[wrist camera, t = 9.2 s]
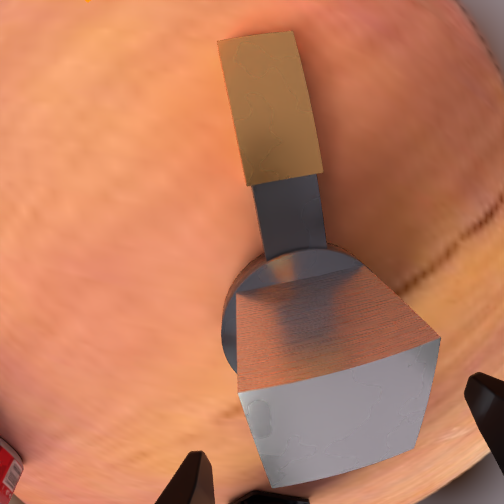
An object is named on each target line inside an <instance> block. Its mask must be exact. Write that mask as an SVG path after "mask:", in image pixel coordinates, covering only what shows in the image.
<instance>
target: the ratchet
mask: <svg viewBox="0 0 504 504" xmlns="http://www.w3.org/2000/svg"><path fill="white" fill-rule="evenodd" d="M217 45H218V51H219V56H220V61H221V66H222V71H223V75H224V80H225V85H226V90H227V95H228V99H229V104H230V109H231V114H232V119H233V124H234V128H235V133H236V138H237V143H238V148H239V153H240V158H241V163H242V168H243V172H244V177H245V182H246V185H247V186H251V188H252V193H253V198H254V203H255V209H256V214H257V219H258V224H259V229H260V234H261V239H262V244H263V249H264V254H262V255H260V256H259V257H257V258H256V259H255V260H253V261H252V262H251V263H249V264H248V265H247V266H246V267H245V268H244V269H243V270H242V271H241V273H240V274H239V275H238V276H237V278H236V279H235V280H234V282H233V284H232V285H231V287H230V289H229V291H228V294H227V296H226V299H225V303H224V307H223V315H222V329H221V337H222V346H223V350H224V353H225V356H226V358H227V361H228V362H229V364H230V366H231V367H232V369H233V370H234V371H235V372H236V373H237V327H236V292H241V291H246V290H251V289H256V288H261V287H266V286H271V285H276V284H281V283H285V282H290V281H295V280H299V279H304V278H309V277H313V276H318V275H322V274H327V273H331V272H336V271H340V270H344V269H349V268H353V267H357V266H362V265H364V264H363V263H362V262H361V261H359V260H358V259H357V258H356V257H355V256H354V255H352V254H351V253H349V252H348V251H346V250H345V249H342V248H340V247H338V246H335V245H332V244H329V243H326V235H325V228H324V221H323V213H322V207H321V200H320V193H319V187H318V181H317V175H316V174H318V173H324V171H323V165H322V160H321V154H320V148H319V143H318V137H317V132H316V127H315V122H314V117H313V112H312V108H311V103H310V98H309V94H308V89H307V85H306V81H305V76H304V72H303V68H302V64H301V60H300V56H299V52H298V48H297V44H296V41H295V37H294V33H293V31H286V32H275V33H266V34H258V35H250V36H243V37H237V38H231V39H225V40H220V41H217ZM364 266H365V265H364ZM369 270H370V269H369ZM370 271H371V270H370ZM371 272H372V271H371ZM372 273H373V272H372Z"/></svg>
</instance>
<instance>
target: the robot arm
mask: <svg viewBox="0 0 504 504" xmlns="http://www.w3.org/2000/svg"><path fill="white" fill-rule="evenodd" d="M464 397H465V400H466V402H467V404H468V406H469V408H470V410H471V413H472V415H473V417H474V419H475V422H476V424H477V426H478V428H479V430H480V432H481V434H482V436H483V438H484V439H485V441H486V443H487V445H488V447H489V448H490V450H491V452H492V454H493V455H494V457H495V459H496V461H497V463H498V465H499V467H500V469H501V471H502V473H503V475H504V381H502V380H499V379H497V378H494V377H492V376H489V375H486V374H484V373H481V372H477V373H475V374H473V375H471V376H470V377H469V379H468V382H467V385H466V388H465V391H464ZM155 504H215V498H214V487H213V474H212V466H211V463H210V462H209V460H208V458H207V456H206V455H205V453H204V452H203V451H191V452H189V453H188V455H187V456H186V458H185V459H184V461H183V463H182V464H181V466H180V467H179V469H178V470H177V472H176V473H175V475H174V476H173V478H172V479H171V481H170V482H169V483H168V485H167V486H166V488H165V489H164V491H163V492H162V494H161V495H160V497H159V498H158V500H157V501H156V502H155ZM232 504H310V502H309V499H302V498H295V497H289V496H283V495H277V494H271V493H266V492H261V491H253V492H251V493H249V494H247V495H246V496H244V497H242V498H241V499H239V500H237V501H235V502H234V503H232Z"/></svg>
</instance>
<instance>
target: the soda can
mask: <svg viewBox="0 0 504 504" xmlns="http://www.w3.org/2000/svg"><path fill="white" fill-rule="evenodd" d="M22 472H23V464H22V460H21V458H20V457H19V455H18V454H17V453H16V452H15V450H14V449H13V448H12V447H11V446H10V445H8V444H7V443H6V442H5V441H4V440H3V439H1V438H0V504H8V503H9V501H10V499H11V496H12V494H13V492H14V490H15V487H16V485H17V483H18V481H19V479H20V476H21V474H22Z"/></svg>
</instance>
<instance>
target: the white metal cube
mask: <svg viewBox="0 0 504 504" xmlns="http://www.w3.org/2000/svg"><path fill="white" fill-rule="evenodd" d="M236 327H237V380H238V395H239V398H240V401H241V404H242V407H243V410H244V413H245V416H246V419H247V422H248V425H249V427H250V430H251V433H252V436H253V439H254V442H255V444H256V447H257V450H258V453H259V455H260V458H261V461H262V463H263V466H264V469H265V471H266V474H267V477H268V479H269V482H270V484H271V487H272V488H278V487H284V486H290V485H295V484H300V483H305V482H310V481H314V480H319V479H323V478H327V477H331V476H335V475H338V474H342V473H346V472H349V471H352V470H356V469H359V468H362V467H365V466H368V465H371V464H374V463H377V462H380V461H383V460H386V459H388V458H391V457H394V456H396V455H399V454H401V453H404V452H406V451H409V450H411V449H413V448H414V446H415V443H416V440H417V437H418V434H419V431H420V427H421V424H422V421H423V417H424V414H425V410H426V406H427V403H428V399H429V395H430V391H431V386H432V382H433V377H434V373H435V368H436V363H437V358H438V352H439V346H440V340H441V337H440V336H439V335H438V334H437V333H436V332H435V331H434V330H433V329H432V328H431V327H430V326H429V325H428V324H427V323H426V322H425V321H424V320H423V319H422V318H421V317H420V316H419V315H418V314H416V313H415V312H414V311H413V310H412V309H411V308H410V307H409V306H408V305H407V304H406V303H405V302H404V301H403V300H402V299H401V298H400V297H399V296H397V295H396V294H395V293H394V292H393V291H392V290H391V289H390V288H389V287H388V286H387V285H386V284H384V283H383V282H382V281H381V280H380V279H379V278H378V277H377V276H376V275H374V274H373V273H372V272H371V271H370V270H369V269H368V268H367V267H366V266H364V265H362V266H357V267H353V268H349V269H344V270H340V271H336V272H331V273H327V274H322V275H318V276H313V277H309V278H304V279H299V280H295V281H290V282H285V283H281V284H276V285H271V286H266V287H261V288H256V289H251V290H246V291H241V292H236Z"/></svg>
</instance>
